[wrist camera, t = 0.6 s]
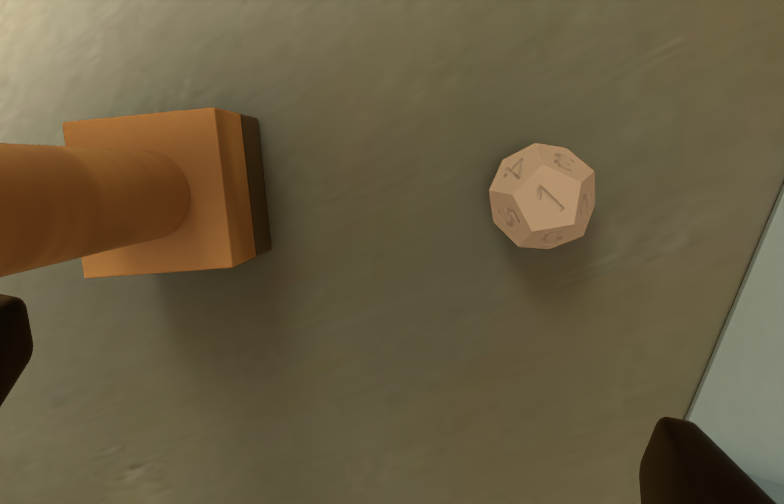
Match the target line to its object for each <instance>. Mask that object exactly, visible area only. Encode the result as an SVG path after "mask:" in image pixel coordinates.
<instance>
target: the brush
mask: <svg viewBox="0 0 784 504" xmlns="http://www.w3.org/2000/svg"><path fill="white" fill-rule="evenodd" d="M62 125H63V132H64V139H65V146H48V145H28V144H7V143H0V277H3V276H7V275H11V274H15V273H19V272H23V271H28V270H32V269H36V268H40V267H44V266H48V265H52V264H56V263H60V262H64V261H68V260H72V259H77V258H81V257H82V264H83V271H84V277H85V278H97V277H111V276H124V275H138V274H152V273H166V272H180V271H193V270H207V269H221V268H232V267H235V266H237V265H239V264H241V263H243V262H246V261H248V260H250V259H252V258H254V257H256V256H258V255H260V254H262V253H264V252H267V251H269V250H271V241H270V232H269V223H268V214H267V204H266V195H265V186H264V177H263V167H262V158H261V149H260V140H259V131H258V121H257V118H254V117H250V116H246V115H242V114H239V113H235V112H231V111H226V110H222V109H218V108H214V107H212V108H202V109H192V110H182V111H172V112H162V113H152V114H142V115H132V116H122V117H111V118H101V119H91V120H81V121H71V122H64V123H63V124H62Z"/></svg>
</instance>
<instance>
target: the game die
mask: <svg viewBox="0 0 784 504" xmlns="http://www.w3.org/2000/svg"><path fill="white" fill-rule="evenodd" d="M489 195H490V203H491V210H492V217H493V222H494V223H495V224H496V225H497V226H498V227H499V228H500V229H501V230H502V231H503V232H504V233H505V234H506V235H507V236H508V237H509V238H510V239H511V240H512V241H513V242H514V243H515V244H516V245H517V246H518V247H526V248H541V249H551V248H554V247H556V246H559V245H561V244H564V243H567V242H569V241H572V240H574V239H577V238H579V237H582V236H584V233H585V230H586V227H587V225H588V222H589V219H590V217H591V214H592V211H593V209H594V206H595V173H594V171H593V170H592V169H591V168H590V167H589V166H587V165H586V164H585V163H584V162H583V161H581V160H580V159H579V158H578V157H577V156H575V155H574V154H573V153H572V152H571V151H569V150H568V149H567V148H563V147H557V146H551V145H545V144H538V143H534V144H532V145H530V146H528V147H526V148H524V149H522V150H521V151H519V152H517V153H515V154H513V155H511V156H509V157H507V158H505V159H503V160H502V162H501V165H500V167H499V169H498V171H497V173H496V176H495V178H494V180H493V182H492V184H491V187H490V189H489Z"/></svg>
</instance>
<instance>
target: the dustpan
mask: <svg viewBox="0 0 784 504" xmlns="http://www.w3.org/2000/svg"><path fill="white" fill-rule="evenodd" d="M685 420H687V421H691V422H693V423H695V424H696V425H697V426H698V427H699V428H700V429H701V430H702V431H703V432H704V433H705V434H706V435H708V436H709V437H710V438H711V439H712V440H713V441H714V442H715V443H716V444H717V445H718V446H719V447H720V448H721V449H722V450H723V451H724V452H725V453H726V454H727V455H728V456H729V457H730V458H731V459H732V460H733V461H734V462H735V463H736V464H737V465H738V466H739V467H740V468H741V469H742V470H743V471H744V472H745V473H746V474H747V475H748V476H749V477H750V478H751V479H752V480H753V481H754V482H755V483H756V484H757V485H758V486H759V487H760V488H761V489H762V490H763V491H764V492H765V493H766V494H767V495H769V496H770V497H771V498H772V499H773V500H774V501H775V502H776V503H777V504H784V184H783V186H782V189H781V191H780V194H779V196H778V198H777V201H776V203H775V206H774V208H773V210H772V213H771V215H770V218H769V220H768V222H767V225H766V227H765V229H764V232H763V234H762V237H761V239H760V241H759V244H758V246H757V249H756V251H755V253H754V256H753V258H752V261H751V263H750V265H749V268H748V270H747V273H746V275H745V277H744V280H743V282H742V284H741V287H740V289H739V292H738V294H737V296H736V299H735V301H734V304H733V306H732V308H731V311H730V313H729V316H728V318H727V320H726V323H725V325H724V328H723V330H722V332H721V335H720V337H719V339H718V342H717V344H716V347H715V349H714V351H713V354H712V356H711V359H710V361H709V363H708V366H707V368H706V371H705V373H704V375H703V378H702V380H701V383H700V385H699V387H698V390H697V392H696V394H695V397H694V399H693V402H692V404H691V406H690V409H689V411H688V414H687V416H686V418H685Z"/></svg>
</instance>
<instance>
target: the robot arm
mask: <svg viewBox="0 0 784 504" xmlns="http://www.w3.org/2000/svg"><path fill="white" fill-rule="evenodd" d="M32 351H33V340H32V335H31V329H30V324H29V318H28V313H27V308H26V305H25V303H24V302H23V300H21V299H20V298H17V297H12V296H7V295H2V294H0V406H1V405H2V403H3V402H4V400H5V398H6V397H7V395H8V394H9V392H10V391H11V389H12V387H13V386H14V384H15V383H16V381H17V380H18V378H19V376H20V375H21V373H22V372H23V370H24V369H25V367H26V365H27V364H28V362H29V360H30V358H31V355H32ZM639 480H640V493H641V504H777V503H776V502H775V501H774V500H773V499H772V498H771V497H770V496H769V495H767V494H766V493H765V492H764V491H763V490H762V489H761V488H760V487H759V486H758V485H757V484H756V483H755V482H754V481H753V480H752V479H751V478H750V477H749V476H748V475H747V474H746V473H745V472H744V471H743V470H742V469H741V468H740V467H739V466H738V465H737V464H736V463H735V462H734V461H733V460H732V459H731V458H730V457H729V456H728V455H727V454H726V453H725V452H724V451H723V450H722V449H721V448H720V447H719V446H718V445H717V444H716V443H715V442H714V441H713V440H712V439H711V438H710V437H709V436H708V435H706V434H705V433H704V432H703V431H702V430H701V429H700V428H699V427H698V426H697V425H696V424H695V423H693V422H691V421H687V420H681V419H676V418H670V417H663V418H661V419H660V420H659V421H658V422H657V424H656V426H655V428H654V431H653V433H652V436H651V438H650V441H649V443H648V446H647V448H646V450H645V453H644V455H643V458H642V461H641V465H640V473H639Z"/></svg>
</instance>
